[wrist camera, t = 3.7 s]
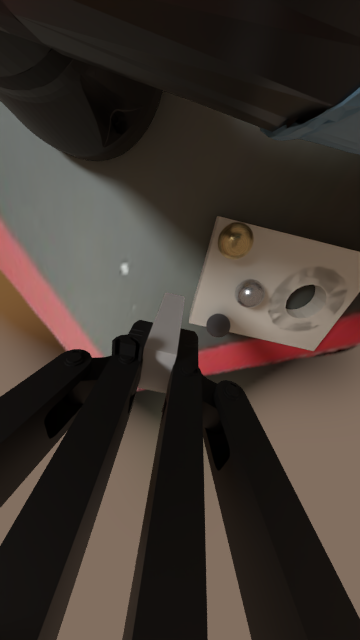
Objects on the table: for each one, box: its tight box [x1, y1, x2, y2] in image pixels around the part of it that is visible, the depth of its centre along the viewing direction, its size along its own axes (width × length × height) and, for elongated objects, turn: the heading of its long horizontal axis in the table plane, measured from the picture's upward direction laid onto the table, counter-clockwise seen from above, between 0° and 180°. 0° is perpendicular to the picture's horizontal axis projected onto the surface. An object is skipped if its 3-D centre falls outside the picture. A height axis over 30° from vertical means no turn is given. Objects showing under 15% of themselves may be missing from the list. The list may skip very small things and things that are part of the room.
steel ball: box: [235, 279, 265, 308], centre depth 21 cm, size 3×3×3 cm
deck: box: [189, 216, 360, 351], centre depth 24 cm, size 18×13×2 cm
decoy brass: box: [218, 222, 254, 260], centre depth 18 cm, size 3×3×3 cm
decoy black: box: [206, 314, 231, 337], centre depth 24 cm, size 3×3×3 cm
